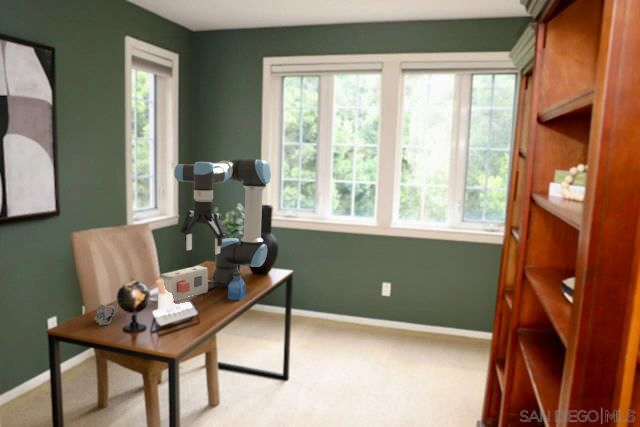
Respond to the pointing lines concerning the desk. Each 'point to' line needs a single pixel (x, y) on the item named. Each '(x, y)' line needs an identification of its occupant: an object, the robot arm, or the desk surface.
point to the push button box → (187, 276)
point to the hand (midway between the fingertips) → (203, 251)
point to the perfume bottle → (236, 287)
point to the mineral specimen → (105, 314)
